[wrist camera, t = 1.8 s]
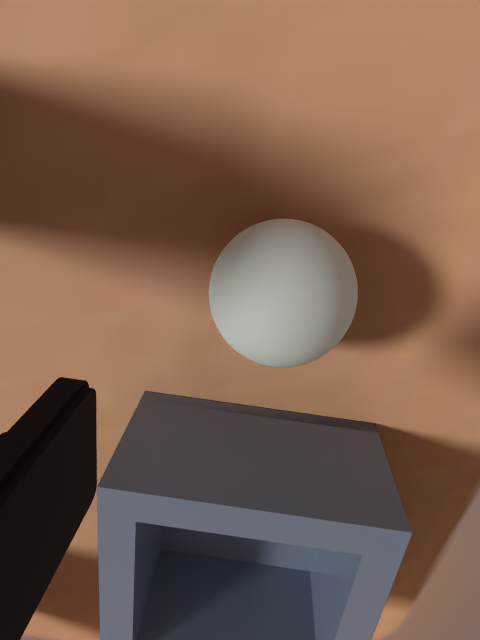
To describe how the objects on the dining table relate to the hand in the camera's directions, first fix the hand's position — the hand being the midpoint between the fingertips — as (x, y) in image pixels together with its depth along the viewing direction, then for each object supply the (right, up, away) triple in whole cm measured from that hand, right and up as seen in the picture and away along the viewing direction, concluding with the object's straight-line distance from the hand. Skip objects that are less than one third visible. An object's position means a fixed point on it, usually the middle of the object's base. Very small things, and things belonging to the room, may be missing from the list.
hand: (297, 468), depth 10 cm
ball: (0, +4, +8) cm, 9 cm away
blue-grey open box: (-1, -7, +17) cm, 18 cm away
